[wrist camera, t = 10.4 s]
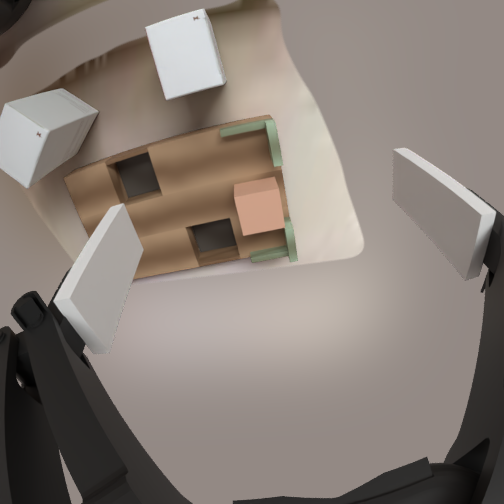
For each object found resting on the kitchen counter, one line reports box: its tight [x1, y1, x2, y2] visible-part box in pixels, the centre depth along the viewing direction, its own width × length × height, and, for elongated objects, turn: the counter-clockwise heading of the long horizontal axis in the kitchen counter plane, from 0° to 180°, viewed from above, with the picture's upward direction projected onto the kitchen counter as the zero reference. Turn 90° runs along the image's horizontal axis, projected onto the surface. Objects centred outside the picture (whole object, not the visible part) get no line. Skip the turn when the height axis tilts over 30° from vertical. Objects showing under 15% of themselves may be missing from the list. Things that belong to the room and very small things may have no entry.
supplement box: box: [0, 88, 99, 189], centre depth 28 cm, size 7×7×13 cm
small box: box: [145, 9, 227, 101], centre depth 26 cm, size 8×6×10 cm
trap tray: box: [64, 115, 298, 279], centre depth 38 cm, size 18×28×6 cm, turn 101°
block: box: [234, 177, 285, 236], centre depth 36 cm, size 5×5×4 cm
